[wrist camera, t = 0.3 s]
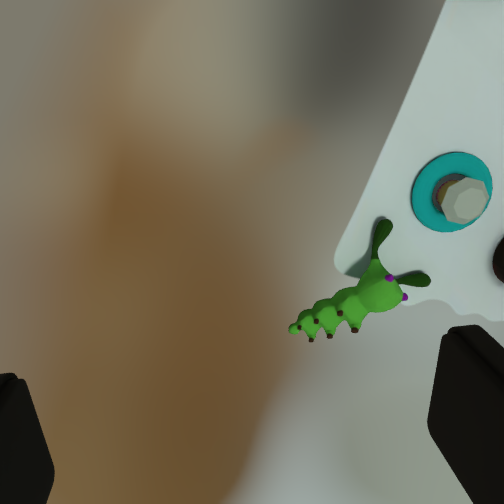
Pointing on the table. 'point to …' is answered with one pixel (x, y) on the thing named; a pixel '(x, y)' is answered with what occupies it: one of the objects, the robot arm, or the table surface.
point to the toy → (359, 295)
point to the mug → (499, 261)
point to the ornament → (452, 192)
